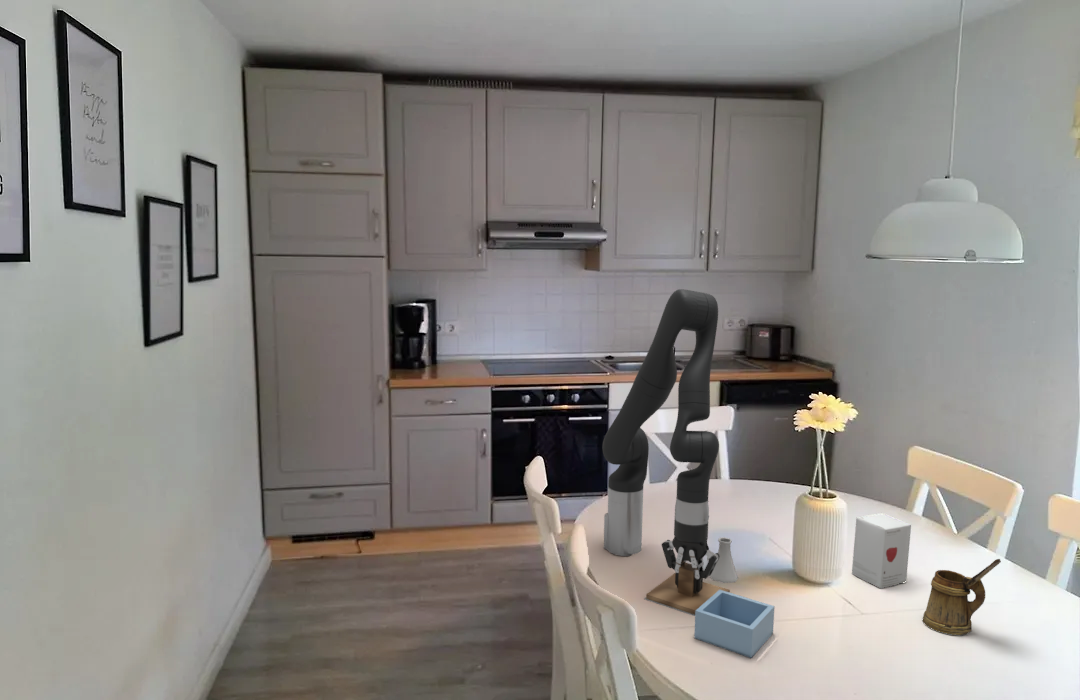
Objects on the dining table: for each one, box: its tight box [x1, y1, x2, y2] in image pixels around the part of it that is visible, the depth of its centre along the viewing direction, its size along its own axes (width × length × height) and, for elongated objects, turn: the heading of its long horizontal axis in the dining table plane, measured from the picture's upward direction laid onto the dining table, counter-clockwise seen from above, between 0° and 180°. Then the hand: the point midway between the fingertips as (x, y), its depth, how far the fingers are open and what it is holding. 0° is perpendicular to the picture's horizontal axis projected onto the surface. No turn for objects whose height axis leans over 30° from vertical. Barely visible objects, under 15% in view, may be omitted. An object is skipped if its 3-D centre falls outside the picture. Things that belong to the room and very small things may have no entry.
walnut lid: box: [645, 562, 731, 615], centre depth 165 cm, size 14×14×7 cm
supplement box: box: [851, 512, 912, 589], centre depth 176 cm, size 9×9×15 cm
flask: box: [709, 536, 739, 584], centre depth 176 cm, size 7×7×10 cm
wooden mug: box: [922, 558, 1001, 636], centre depth 152 cm, size 9×14×18 cm, turn 38°
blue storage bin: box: [693, 590, 776, 659], centre depth 148 cm, size 12×12×6 cm
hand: (688, 589), depth 165 cm, fingers closed on walnut lid, 3 cm apart
